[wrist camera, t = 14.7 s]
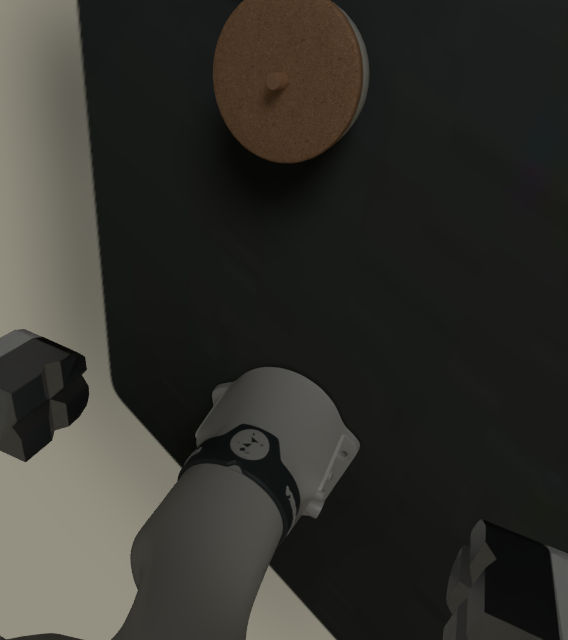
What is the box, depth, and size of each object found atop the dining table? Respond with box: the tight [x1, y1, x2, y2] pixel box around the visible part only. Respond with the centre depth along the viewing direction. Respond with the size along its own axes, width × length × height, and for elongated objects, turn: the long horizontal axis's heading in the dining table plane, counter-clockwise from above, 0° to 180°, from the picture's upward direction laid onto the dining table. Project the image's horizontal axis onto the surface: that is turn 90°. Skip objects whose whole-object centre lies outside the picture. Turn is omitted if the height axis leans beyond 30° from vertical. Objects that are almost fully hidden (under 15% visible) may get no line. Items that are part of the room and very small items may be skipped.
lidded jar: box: [213, 0, 369, 164], centre depth 34 cm, size 11×11×9 cm
